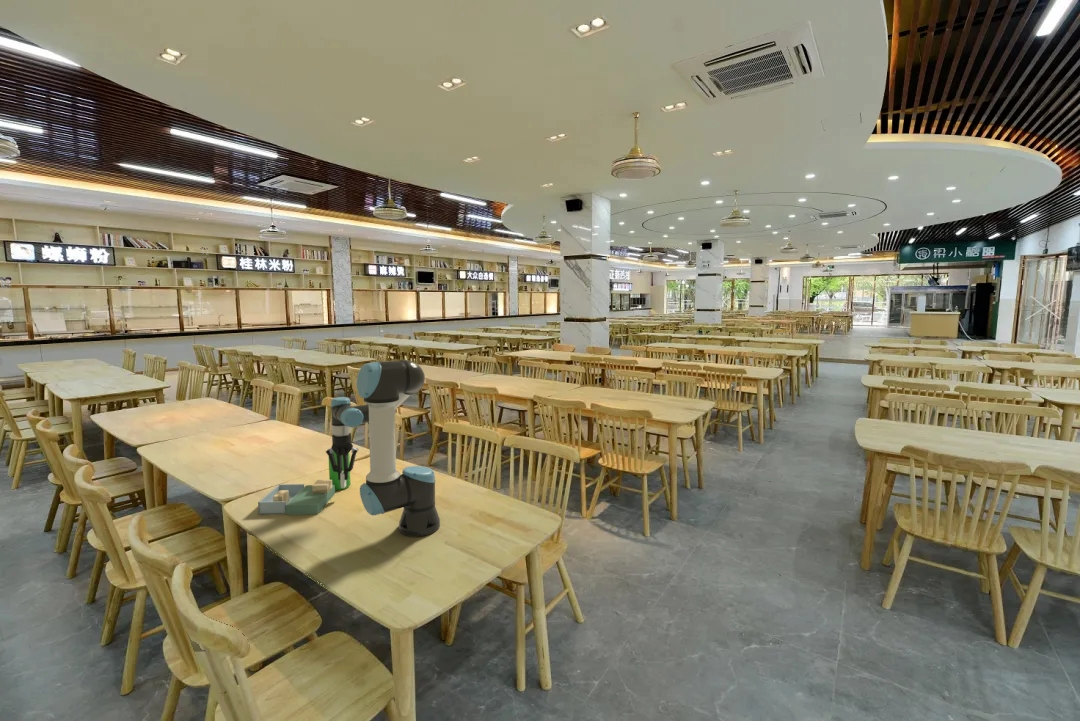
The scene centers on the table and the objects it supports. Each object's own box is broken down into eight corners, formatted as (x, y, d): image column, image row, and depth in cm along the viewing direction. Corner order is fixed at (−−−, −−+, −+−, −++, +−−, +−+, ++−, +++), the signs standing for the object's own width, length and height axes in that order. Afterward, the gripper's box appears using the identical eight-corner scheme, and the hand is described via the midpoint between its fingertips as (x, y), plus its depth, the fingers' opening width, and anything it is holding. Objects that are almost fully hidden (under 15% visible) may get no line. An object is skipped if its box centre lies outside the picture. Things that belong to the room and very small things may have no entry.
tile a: (282, 496, 185) (272, 496, 185) (282, 510, 186) (273, 510, 186) (288, 490, 191) (279, 490, 191) (289, 503, 192) (280, 504, 192)
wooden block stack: (327, 493, 195) (327, 485, 195) (312, 493, 194) (312, 485, 194) (332, 487, 201) (332, 479, 200) (318, 487, 200) (317, 480, 200)
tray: (286, 513, 184) (285, 501, 184) (258, 514, 183) (258, 502, 183) (304, 494, 202) (304, 483, 202) (279, 495, 201) (278, 484, 201)
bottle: (354, 483, 215) (352, 431, 212) (344, 491, 207) (342, 437, 203) (336, 482, 216) (334, 431, 213) (325, 490, 207) (323, 436, 204)
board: (318, 514, 185) (317, 504, 184) (286, 514, 184) (286, 505, 183) (335, 493, 204) (334, 484, 204) (306, 493, 203) (306, 485, 203)
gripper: (360, 431, 200) (361, 483, 203) (328, 431, 198) (331, 483, 201) (354, 436, 192) (356, 490, 195) (322, 436, 191) (324, 490, 194)
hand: (343, 486), depth 198 cm, fingers closed
